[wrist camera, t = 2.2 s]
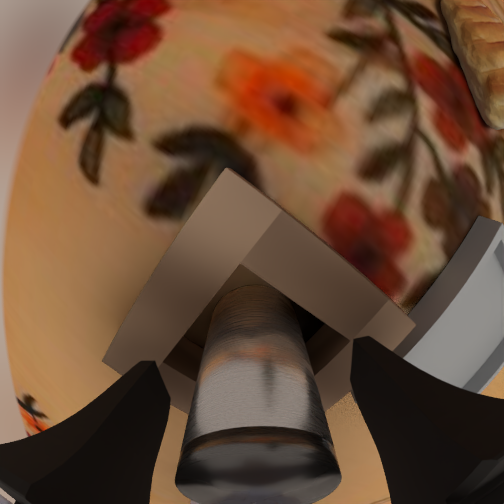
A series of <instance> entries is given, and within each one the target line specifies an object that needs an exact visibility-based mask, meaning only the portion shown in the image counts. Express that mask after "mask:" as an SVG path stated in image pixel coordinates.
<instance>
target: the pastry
mask: <svg viewBox="0 0 504 504" xmlns="http://www.w3.org/2000/svg"><path fill="white" fill-rule="evenodd" d="M440 5H441V10H442V14H443V16H444V18H445V20H446V22H447V24H448V30H449V33H450V36H451V44H452V48H453V51H454V53H455V54H456V55H457V57H458V59H459V61H460V65H461V67H462V69H463V71H464V74H465V76H466V79H467V82H468V85H469V88H470V90H471V93H472V95H473V98H474V100H475V103H476V106H477V108H478V110H479V112H480V114H481V117H482V118H483V120H484V121H485V123H486V124H487V125H489V126H490V127H491V128H493V129H496V130H497V129H504V25H503V23H502V21H501V20H500V19H499V18H498V17H497V16H496V15H494V14H493V13H492V12H491V10H490V9H489V8H488V7H487V6H486V5H485V4H484V3H483V2H482V1H481V0H441V3H440Z"/></svg>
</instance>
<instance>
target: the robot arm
mask: <svg viewBox="0 0 504 504" xmlns="http://www.w3.org/2000/svg"><path fill="white" fill-rule="evenodd" d="M350 382H351V386H352V389H353V392H354V396H355V399H356V402H357V404H358V407H359V409H360V411H361V413H362V416H363V418H364V420H365V422H366V424H367V427H368V429H369V431H370V433H371V435H372V438H373V440H374V442H375V444H376V447H377V449H378V452H379V455H380V458H381V462H382V465H383V469H384V472H385V476H386V480H387V484H388V489H389V493H390V498H391V504H504V399H500V398H494V397H489V396H485V395H481V394H478V393H474V392H471V391H468V390H465V389H462V388H459V387H456V386H454V385H452V384H449V383H447V382H445V381H442V380H440V379H438V378H436V377H434V376H432V375H430V374H428V373H427V372H425V371H423V370H421V369H419V368H418V367H416V366H414V365H413V364H411V363H409V362H408V361H406V360H405V359H403V358H401V357H400V356H398V355H397V354H395V353H394V352H392V351H391V350H389V349H388V348H387V347H385V346H384V345H382V344H381V343H379V342H378V341H376V340H375V339H373V338H372V337H370V336H364V337H360V338H355V339H353V349H352V362H351V373H350ZM170 402H171V397H170V395H169V393H168V391H167V388H166V386H165V384H164V381H163V379H162V377H161V374H160V372H159V369H158V367H157V364H156V362H155V361H140V362H138V363H137V364H136V365H135V366H133V367H132V368H131V369H130V370H129V371H127V372H126V373H125V374H124V375H123V376H122V377H121V378H120V379H118V380H117V381H116V382H115V383H114V384H113V385H111V386H110V387H109V388H108V389H107V390H106V391H105V392H103V393H102V394H101V395H100V396H98V397H97V398H96V399H94V400H93V401H92V402H91V403H89V404H88V405H87V406H86V407H84V408H83V409H81V410H80V411H78V412H77V413H75V414H74V415H72V416H71V417H69V418H67V419H66V420H64V421H62V422H61V423H59V424H57V425H55V426H53V427H51V428H49V429H47V430H45V431H43V432H40V433H38V434H35V435H33V436H30V437H27V438H24V439H21V440H18V441H14V442H10V443H5V444H0V488H2V489H3V490H4V491H5V492H6V493H7V494H9V495H10V496H11V497H12V498H14V499H15V500H16V501H15V503H14V504H149V502H150V491H151V483H152V476H153V471H154V467H155V463H156V459H157V456H158V452H159V449H160V446H161V442H162V439H163V435H164V432H165V429H166V425H167V421H168V416H169V409H170ZM0 504H12V503H11V502H10V501H8V500H7V499H6V498H4V497H3V496H2V495H0ZM190 504H199V503H197V502H194V501H193V500H191V502H190Z"/></svg>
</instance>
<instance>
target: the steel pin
mask: <svg viewBox="0 0 504 504" xmlns="http://www.w3.org/2000/svg"><path fill="white" fill-rule="evenodd" d="M341 477H342V476H341V472H340V468H339V464H338V461H337V457H336V453H335V449H334V445H333V442H332V438H331V434H330V431H329V427H328V423H327V420H326V416H325V412H324V409H323V405H322V402H321V398H320V394H319V391H318V387H317V384H316V380H315V377H314V373H313V370H312V367H311V363H310V360H309V356H308V353H307V349H306V346H305V343H304V339H303V336H302V333H301V329H300V326H299V323H298V319H297V316H296V313H295V310H294V307H293V305H292V304H291V302H290V301H289V300H288V299H287V298H286V297H285V296H284V295H283V294H282V293H280V292H278V291H277V290H275V289H272V288H269V287H266V286H260V285H249V286H243V287H240V288H237V289H235V290H232V291H231V292H229V293H227V294H226V295H225V296H224V297H223V298H222V299H221V300H220V301H219V302H218V304H217V305H216V307H215V309H214V312H213V315H212V319H211V323H210V327H209V331H208V335H207V339H206V343H205V348H204V352H203V356H202V360H201V364H200V368H199V373H198V377H197V381H196V385H195V390H194V394H193V398H192V403H191V407H190V412H189V416H188V420H187V425H186V429H185V434H184V439H183V443H182V448H181V453H180V457H179V462H178V467H177V472H176V476H175V484H176V487H177V488H178V490H179V491H180V492H181V493H182V494H183V495H185V496H186V497H187V498H189V499H191V500H193V501H194V502H197V503H199V504H312V503H314V502H317V501H319V500H321V499H323V498H324V497H326V496H328V495H329V494H330V493H332V492H333V491H334V490H335V489H336V488H337V487H338V485H339V484H340V482H341Z"/></svg>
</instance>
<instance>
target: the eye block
mask: <svg viewBox="0 0 504 504" xmlns="http://www.w3.org/2000/svg"><path fill="white" fill-rule="evenodd" d="M240 263H241V264H242V265H243V266H245V267H246V268H248V269H249V270H250V271H252V272H253V273H255V274H256V275H257V276H259V277H260V278H262V279H263V280H264V281H266V282H267V283H269V284H270V285H271V286H273V287H274V288H276V289H277V290H279V291H280V292H281V293H283V294H284V295H286V296H287V297H288V298H290V299H291V300H293V301H294V302H296V303H297V304H298V305H300V306H301V307H303V308H304V309H306V310H307V311H308V312H310V313H311V314H313V315H314V316H316V317H317V318H318V319H320V320H321V321H323V322H324V323H325V324H324V325H323V326H322V327H321V328H320V329H319V330H318V331H317V332H316V333H315V334H314V335H313V336H312V337H311V338H310V339H309V340H308V341H307V342H306V343H305V346H306V349H307V353H308V356H309V360H310V363H311V367H312V370H313V373H314V377H315V380H316V384H317V387H318V391H319V394H320V398H321V402H322V405H323V409H324V412H325V411H326V410H328V409H329V408H330V407H331V406H333V405H334V404H335V403H336V402H338V401H339V400H340V399H341V398H342V397H344V396H345V395H346V394H347V393H348V392H350V391H351V390H352V386H351V382H350V373H351V362H352V349H353V339H355V338H360V337H364V336H370V337H372V338H373V339H375V340H376V341H378V342H379V343H381V344H382V345H384V346H385V347H387V348H388V349H389V350H391V351H393V350H394V349H395V348H396V347H397V346H398V345H399V344H400V343H401V342H402V341H403V339H404V338H405V337H406V336H407V335H408V334H409V333H410V332H411V331H412V330H413V328H414V327H415V326H416V324H415V323H414V322H413V321H412V320H411V319H410V318H409V317H408V316H407V315H406V314H405V313H404V311H403V310H402V309H401V308H400V307H399V306H398V305H397V304H396V303H395V302H394V301H393V300H391V299H390V298H389V297H388V296H387V295H386V294H385V293H384V292H383V291H382V290H380V289H379V288H378V287H377V286H376V285H375V284H374V283H373V282H371V281H370V280H369V279H368V278H367V277H366V276H365V275H363V274H362V273H361V272H360V271H359V270H358V269H357V268H355V267H354V266H353V265H352V264H351V263H350V262H348V261H347V260H346V259H345V258H344V257H343V256H341V255H340V254H339V253H338V252H337V251H335V250H334V249H333V248H332V247H331V246H329V245H328V244H327V243H326V242H325V241H323V240H322V239H321V238H320V237H319V236H317V235H316V234H315V233H314V232H312V231H311V230H310V229H309V228H308V227H306V226H305V225H304V224H303V223H301V222H300V221H299V220H298V219H296V218H295V217H294V216H293V215H291V214H290V213H289V212H287V211H286V210H285V209H284V208H282V207H281V206H280V205H279V204H277V203H276V202H275V201H273V200H272V199H271V198H270V197H268V196H267V195H266V194H264V193H263V192H262V191H260V190H259V189H258V188H256V187H255V186H254V185H252V184H251V183H250V182H248V181H247V180H246V179H244V178H243V177H242V176H240V175H239V174H238V173H236V172H235V171H234V170H232V169H230V168H225V169H224V171H223V172H222V173H221V175H220V176H219V177H218V179H217V180H216V182H215V183H214V184H213V186H212V187H211V188H210V190H209V191H208V192H207V194H206V195H205V197H204V198H203V199H202V201H201V202H200V204H199V205H198V206H197V208H196V209H195V211H194V212H193V213H192V215H191V216H190V218H189V219H188V221H187V222H186V223H185V225H184V226H183V228H182V229H181V231H180V232H179V234H178V235H177V237H176V238H175V240H174V241H173V243H172V244H171V246H170V247H169V249H168V250H167V252H166V253H165V255H164V256H163V258H162V259H161V261H160V263H159V264H158V266H157V267H156V269H155V270H154V272H153V274H152V275H151V277H150V278H149V280H148V281H147V283H146V285H145V286H144V288H143V290H142V291H141V293H140V295H139V296H138V298H137V299H136V301H135V303H134V305H133V306H132V308H131V310H130V311H129V313H128V315H127V316H126V318H125V320H124V322H123V323H122V325H121V327H120V329H119V330H118V332H117V334H116V336H115V337H114V339H113V341H112V343H111V345H110V347H109V348H108V350H107V352H106V354H105V356H104V358H103V360H102V362H104V363H105V364H106V365H108V366H109V367H111V368H112V369H114V370H115V371H117V372H118V373H119V374H121V375H122V376H123V375H124V374H125V373H126V372H127V371H129V370H130V369H131V368H132V367H133V366H135V365H136V364H137V363H138V362H140V361H155V362H156V364H157V367H158V369H159V372H160V374H161V377H162V379H163V381H164V384H165V386H166V388H167V391H168V393H169V395H170V397H171V402H170V405H172V406H174V407H176V408H178V409H180V410H181V411H183V412H185V413H187V414H189V412H190V407H191V403H192V398H193V394H194V390H195V385H196V381H197V377H198V373H199V368H200V364H201V360H202V356H203V352H204V349H202V348H201V347H199V346H197V345H196V344H194V343H193V342H191V341H190V340H188V339H186V338H185V337H183V335H184V334H185V333H186V331H187V330H188V329H189V328H190V326H191V325H192V324H193V322H194V321H195V320H196V319H197V317H198V316H199V315H200V314H201V312H202V311H203V310H204V308H205V307H206V306H207V305H208V303H209V302H210V301H211V300H212V298H213V297H214V296H215V295H216V293H217V292H218V291H219V289H220V288H221V287H222V286H223V284H224V283H225V282H226V281H227V279H228V278H229V277H230V275H231V274H232V273H233V272H234V270H235V269H236V268H237V267H238V265H239V264H240Z"/></svg>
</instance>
